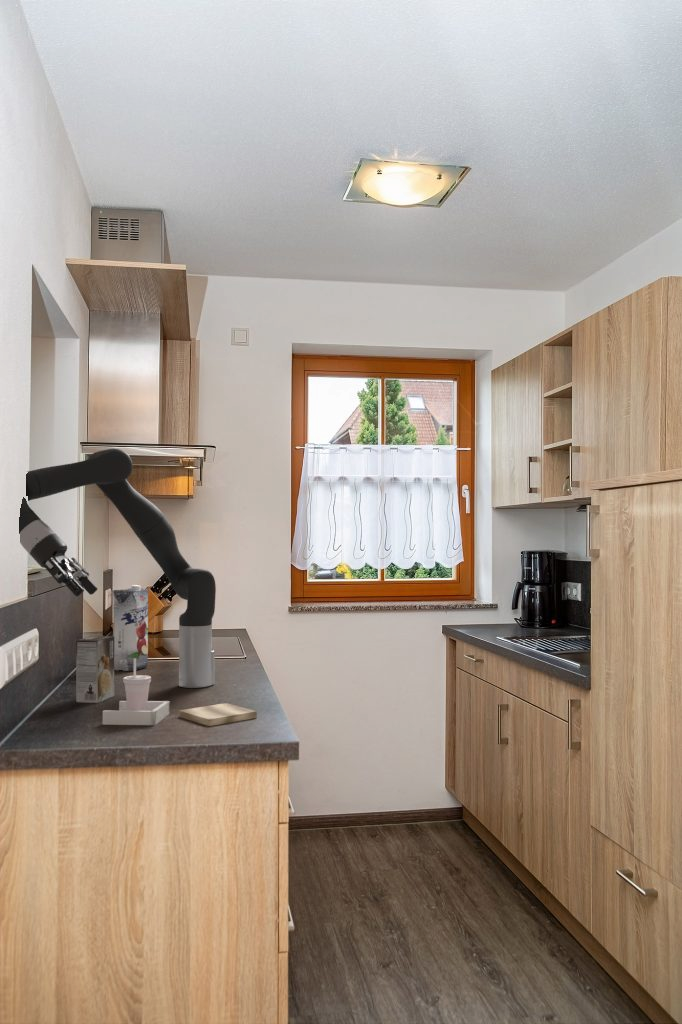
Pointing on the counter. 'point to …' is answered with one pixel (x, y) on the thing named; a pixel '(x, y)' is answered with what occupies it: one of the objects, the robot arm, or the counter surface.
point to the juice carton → (130, 628)
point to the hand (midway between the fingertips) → (87, 593)
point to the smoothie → (137, 691)
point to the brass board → (217, 714)
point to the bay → (137, 714)
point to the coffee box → (94, 669)
